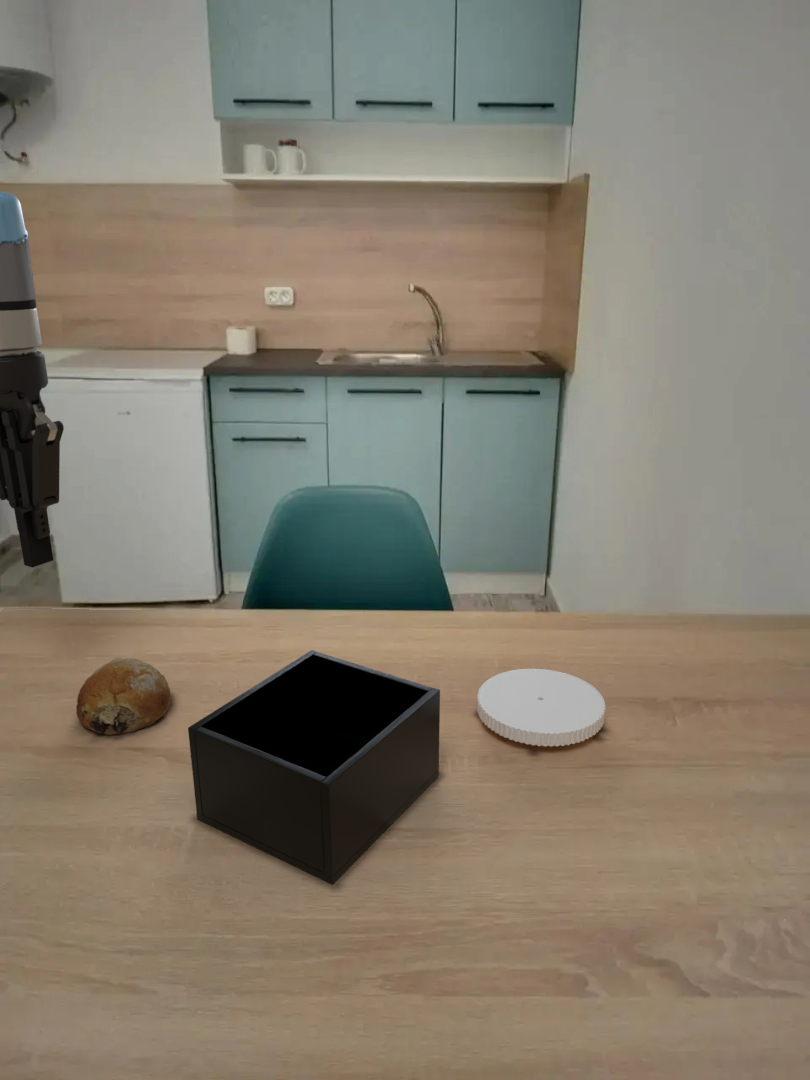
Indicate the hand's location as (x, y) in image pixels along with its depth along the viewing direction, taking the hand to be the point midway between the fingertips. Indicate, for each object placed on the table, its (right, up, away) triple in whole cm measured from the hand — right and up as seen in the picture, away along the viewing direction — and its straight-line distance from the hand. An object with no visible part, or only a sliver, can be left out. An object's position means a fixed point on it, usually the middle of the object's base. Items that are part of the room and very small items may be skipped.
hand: (38, 562), depth 94 cm
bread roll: (+10, -17, -1) cm, 20 cm away
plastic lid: (+57, -18, -1) cm, 59 cm away
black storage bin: (+34, -22, -15) cm, 43 cm away
